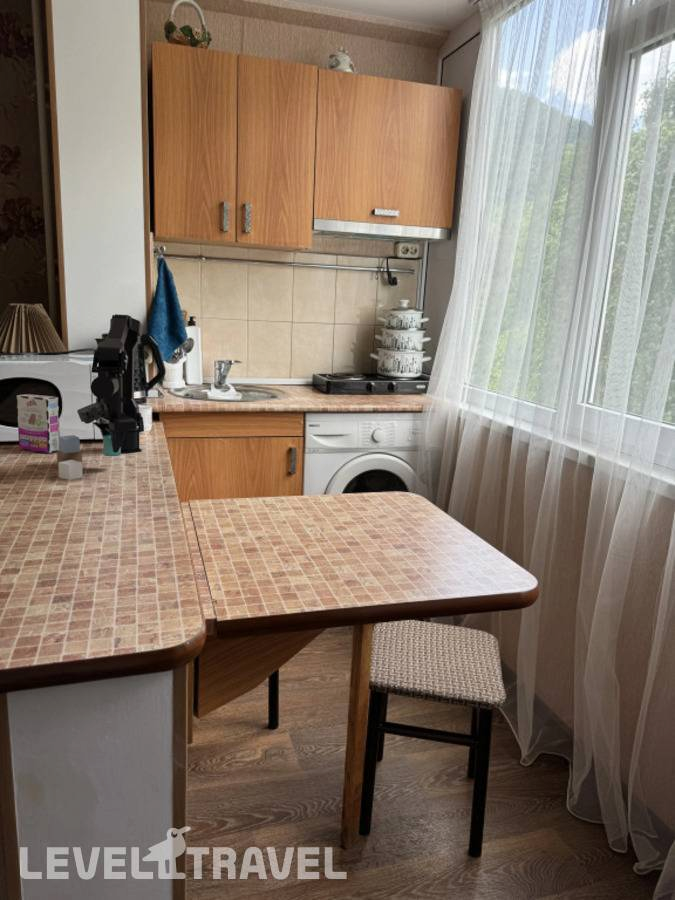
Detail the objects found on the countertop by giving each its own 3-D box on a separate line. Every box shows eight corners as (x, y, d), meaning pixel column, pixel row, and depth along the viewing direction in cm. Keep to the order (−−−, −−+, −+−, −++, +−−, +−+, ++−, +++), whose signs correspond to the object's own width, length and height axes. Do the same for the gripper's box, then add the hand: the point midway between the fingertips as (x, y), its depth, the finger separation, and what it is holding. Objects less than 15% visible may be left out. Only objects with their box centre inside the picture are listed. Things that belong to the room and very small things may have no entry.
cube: (71, 474, 169) (71, 459, 168) (82, 477, 167) (82, 462, 166) (58, 477, 165) (58, 462, 164) (69, 480, 163) (69, 465, 163)
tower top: (74, 449, 179) (73, 435, 178) (79, 451, 176) (79, 437, 176) (59, 450, 177) (58, 436, 176) (65, 453, 174) (64, 439, 173)
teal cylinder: (116, 452, 177) (116, 434, 176) (123, 455, 174) (123, 437, 173) (100, 453, 174) (100, 435, 173) (107, 457, 171) (107, 438, 170)
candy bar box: (61, 450, 192) (59, 396, 189) (49, 454, 188) (47, 398, 184) (30, 446, 196) (28, 393, 192) (18, 449, 191) (15, 394, 187)
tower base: (75, 462, 181) (75, 448, 180) (82, 466, 177) (82, 452, 176) (57, 464, 177) (56, 450, 177) (64, 468, 174) (63, 454, 173)
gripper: (67, 390, 172) (69, 446, 175) (95, 400, 159) (96, 461, 162) (107, 388, 179) (108, 442, 183) (137, 397, 166) (138, 456, 170)
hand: (112, 450), depth 174 cm, fingers closed on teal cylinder, 4 cm apart
